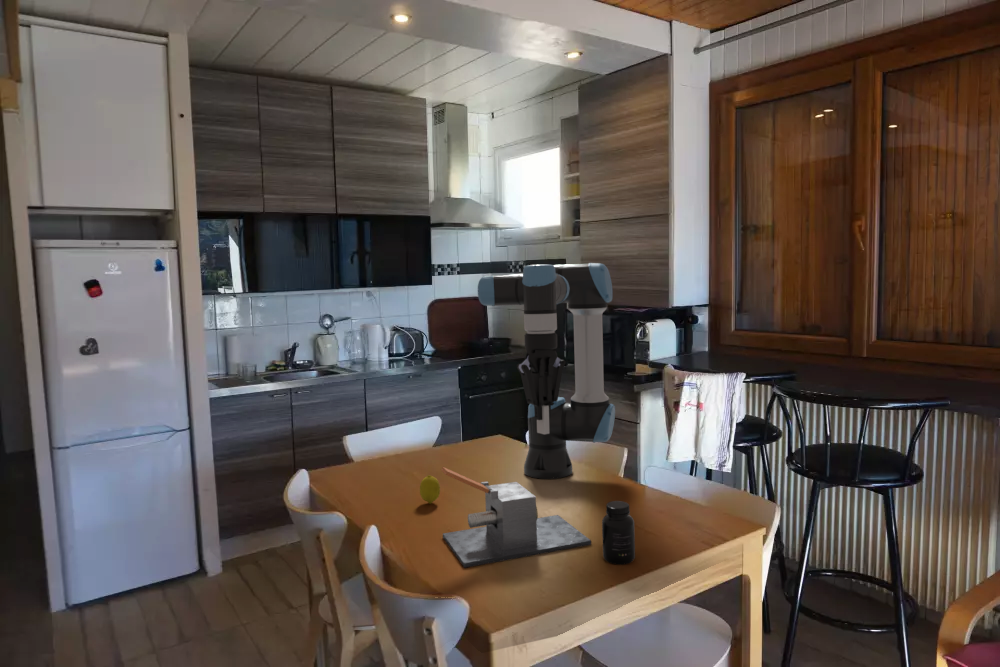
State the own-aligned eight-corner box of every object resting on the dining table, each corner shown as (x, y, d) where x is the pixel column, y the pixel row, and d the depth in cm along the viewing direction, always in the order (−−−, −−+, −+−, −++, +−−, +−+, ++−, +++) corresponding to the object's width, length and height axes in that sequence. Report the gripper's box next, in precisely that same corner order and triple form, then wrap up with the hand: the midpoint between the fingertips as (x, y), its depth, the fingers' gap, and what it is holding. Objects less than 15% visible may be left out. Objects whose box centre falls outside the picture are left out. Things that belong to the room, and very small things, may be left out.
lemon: (437, 507, 177) (436, 478, 177) (417, 506, 179) (416, 477, 178) (443, 500, 183) (441, 472, 182) (424, 499, 184) (422, 471, 183)
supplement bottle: (599, 553, 145) (598, 499, 144) (629, 551, 145) (629, 498, 144) (607, 566, 138) (606, 510, 137) (639, 564, 138) (638, 508, 137)
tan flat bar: (487, 491, 152) (489, 486, 152) (493, 496, 148) (495, 492, 148) (440, 470, 148) (442, 465, 148) (445, 475, 144) (447, 470, 144)
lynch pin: (529, 517, 156) (529, 497, 156) (537, 524, 152) (537, 503, 151) (466, 527, 151) (466, 506, 151) (473, 535, 146) (472, 513, 146)
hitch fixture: (558, 518, 166) (556, 465, 165) (591, 544, 149) (589, 485, 148) (442, 537, 156) (440, 480, 155) (464, 567, 139) (461, 504, 138)
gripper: (551, 329, 158) (554, 426, 160) (508, 333, 151) (511, 434, 152) (572, 330, 152) (575, 431, 154) (528, 334, 145) (531, 440, 146)
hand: (543, 432), depth 153 cm, fingers closed
